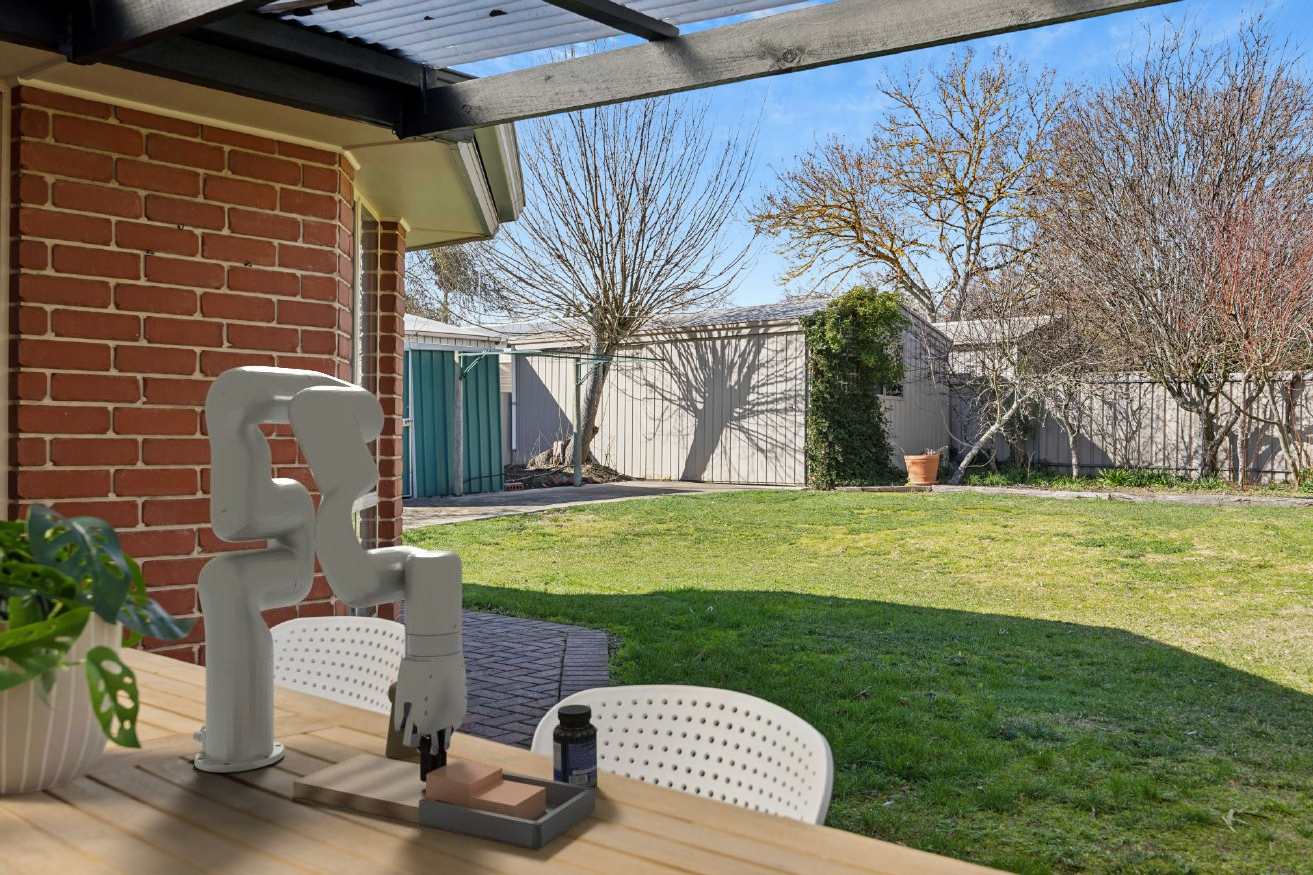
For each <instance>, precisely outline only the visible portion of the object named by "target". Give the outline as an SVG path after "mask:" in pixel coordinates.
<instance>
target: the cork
mask: <svg viewBox="0 0 1313 875" xmlns="http://www.w3.org/2000/svg"><path fill="white" fill-rule="evenodd" d="M396 686H397V680H395V681H394V682H392V683H391V684H390V685H389V687H388V690H387V697H388V701H389V703H391V706H390V707H391V708H390V714H389V723H388V729H387V730H388V731H387V737H386V738H387V739H386V745H385V756H386V757H389V758H391V759H392V758H394V759H408V758H414V757H417V756H420V753H419V752H417V748H416V747H409V746H404V745H403V739H404V733H405V732H397V731H396V730H395V723H394V717H395V697H396Z"/></svg>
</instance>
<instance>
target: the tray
mask: <svg viewBox="0 0 1313 875" xmlns="http://www.w3.org/2000/svg"><path fill="white" fill-rule="evenodd" d="M502 780H506V781H512V782H517V783H523V784H528V785H534V786H539V787H545V788H546V811H544V812H543V813H541V814H540V815H538V816H536V817H535V818H533V819H532V820H526V819H521V818H516V817H511V816H506V815H501V814H497V813H492V812H487V811H482V810H477V809H472V808H467V807H463V806H459V805H456V804H447V803H442V802H437V801H432V800H428V799H421V800H419V823H418V824H419V826H425V827H430V828H433V829H438V830H442V831H447V832H452V833H456V834H461V835H466V836H469V837H474V838H480V839H482V840H488V841H493V842H496V843H497V842H498V843H501V842H503V844H507V845H511V844H513V845H512V846H515V845H516V847H520V846H522V847H521V848H525V849H529V850H533V851H534V850H535V851H540V850H541V849H542V848H544V847H545V846H547V845H548V844H549V843H551V842H552V841H554V840H555V839H557V838H558V837H560V836H561V835H563V834H564V833H566V832H567V831H568V830H570V829H572V827H574V826H576V825H578V824H579V823H580V822H581V821H583V820H584V819H586V818H587V817H589V816H590V815H592V814H593V813H595V812H596V788H592V787H587V786H581V785H576V784H570V783H564V782H559V781H554V780H553V779H548V778H541V777H537V776H531V775H525V774H518V773H513V772H507V771H504V770H502ZM562 833H563V834H562ZM559 835H560V836H559ZM546 844H547V845H546ZM543 846H544V847H543ZM540 848H541V849H540Z"/></svg>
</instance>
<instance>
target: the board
mask: <svg viewBox="0 0 1313 875" xmlns="http://www.w3.org/2000/svg"><path fill="white" fill-rule="evenodd" d="M292 783H293V789H292V790H293V794H292V796H293V797H295V798H301V799H306V800H309V801H310V800H311V801H315V802H320V803H325V804H328V805H332V806H338V807H343V808H347V809H352V810H355V811H361V812H366V813H369V814H373V815H380V816H384V817H389V818H393V819H398V820H402V821H406V822H411V823H417V824H419V800H421V799H428V800H432V801H437V802H442V803H447V804H452V803H448V802H444V801H440V800H436V799H432V798H428V797H426V782H423V781H421V780H420V763H414V762H410V761H409V762H408V761H405V760H404V761H403V760H397V759H392V758H386V757H381V756H376V755H371V754H365V753H360V754H358V755H354V756H353V757H351V758H347V759H345V760H342V761H340V762H338V763H336V764H333V765H331V766H328V767H325V768H322V769H320V770H318V771H315V772H313V773H310V774H307V775H305V776H303V777H301V778H297V779H296V780H293V782H292Z"/></svg>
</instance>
